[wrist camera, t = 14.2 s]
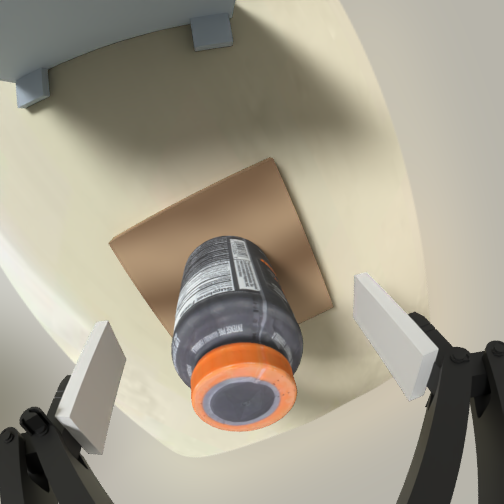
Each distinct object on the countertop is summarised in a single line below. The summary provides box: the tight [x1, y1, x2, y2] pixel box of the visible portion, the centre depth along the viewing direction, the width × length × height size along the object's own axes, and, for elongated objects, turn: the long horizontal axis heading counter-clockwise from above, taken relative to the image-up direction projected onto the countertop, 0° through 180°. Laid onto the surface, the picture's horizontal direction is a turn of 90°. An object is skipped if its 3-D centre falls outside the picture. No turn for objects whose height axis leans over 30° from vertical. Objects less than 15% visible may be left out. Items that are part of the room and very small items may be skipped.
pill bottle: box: [172, 236, 303, 432], centre depth 15 cm, size 6×6×11 cm
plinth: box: [109, 157, 333, 338], centre depth 21 cm, size 12×12×1 cm
